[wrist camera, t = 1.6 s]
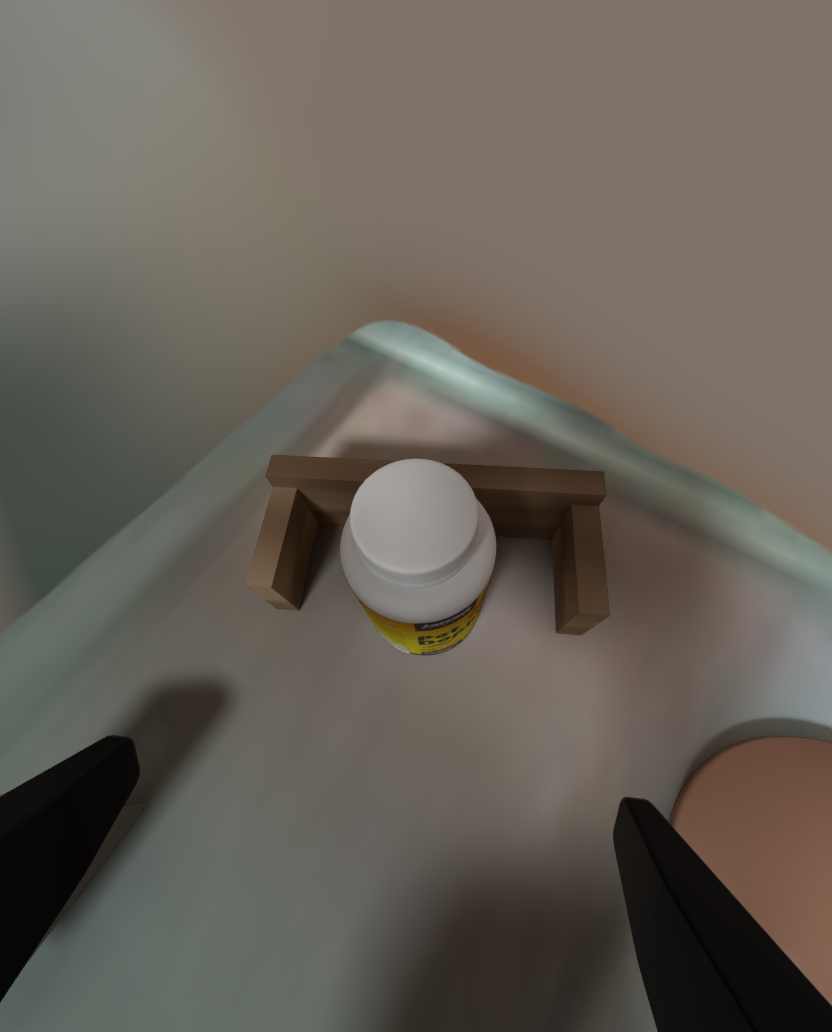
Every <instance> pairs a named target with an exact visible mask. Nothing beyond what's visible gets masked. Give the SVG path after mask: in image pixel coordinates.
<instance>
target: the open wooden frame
mask: <svg viewBox="0 0 832 1032" xmlns="http://www.w3.org/2000/svg"><path fill="white" fill-rule="evenodd" d="M393 462H396V461H384V460H365V459H345V458H326V457H306V456H286V455H272V456H271V459H270V463H269V466H268V469H267V473H266V477H267V479H268V480H269V482H270V483H271V485H272V486H273V489H272V492H271V496H270V499H269V503H268V506H267V510H266V513H265V517H264V520H263V524H262V527H261V531H260V534H259V538H258V541H257V545H256V548H255V552H254V555H253V559H252V562H251V566H250V569H249V573H248V576H247V580H246V583H245V586H247V587H248V588H249V589H251V590H252V591H253V592H255V593H256V594H257V595H259V596H260V597H262V598H263V599H264V600H266V601H267V602H268V603H270V604H271V605H273V606H274V607H275V608H277V609H287V610H299V609H300V604H301V600H302V595H303V591H304V586H305V582H306V577H307V573H308V568H309V564H310V559H311V555H312V550H313V546H314V541H315V537H316V532H317V528H318V524H330V525H345V523H346V521H347V519H348V517H349V515H350V510H351V505H352V502H353V499H354V497H355V494H356V492H357V491H358V489H359V487H360V486H361V485H362V484H363V482H364V481H365V480H366V479H367V478H368V477H369V476H370V475H372V474H373V473H374V472H375V471H377V470H378V469H380V468H382V467H384V466H386V465H388V464H390V463H393ZM442 464H443V463H442ZM444 465H446V466H448V467H450V468H452V469H454V470H455V471H456V472H458V473H459V474H460V475H461V476H462V477H463V478H464V479H465V480H466V481H467V482H468V484H469V485H470V487H471V488H472V490H473V492H474V495H475V497H476V499H477V500H478V501H479V502H480V503H481V505H482V506H483V507H484V509H485V510H486V512H487V514H488V515H489V517H490V520H491V522H492V525H493V528H494V532H495V536H510V537H525V538H540V539H552V549H553V572H554V595H555V618H556V633H562V634H573V635H583V634H584V633H585V632H587V631H588V630H590V629H591V628H593V627H594V626H595V625H597V624H598V623H600V622H601V621H603V620H604V619H605V618H607V617H608V616H610V612H609V602H608V592H607V582H606V572H605V562H604V552H603V542H602V532H601V522H600V512H599V505H600V504H601V502H602V501H603V499H604V498H605V496H606V488H605V479H604V472H600V471H580V470H561V469H541V468H521V467H502V466H482V465H463V464H444Z"/></svg>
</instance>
